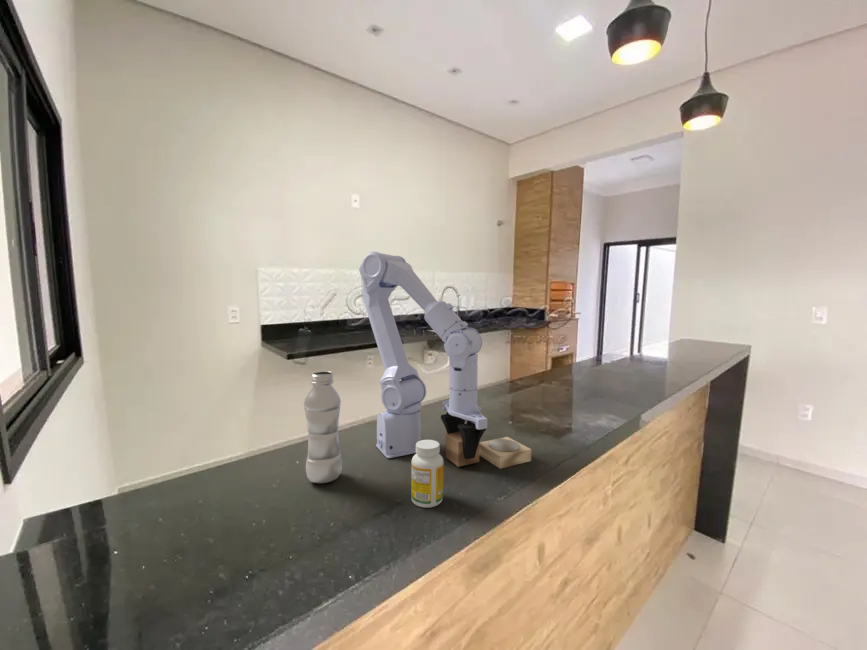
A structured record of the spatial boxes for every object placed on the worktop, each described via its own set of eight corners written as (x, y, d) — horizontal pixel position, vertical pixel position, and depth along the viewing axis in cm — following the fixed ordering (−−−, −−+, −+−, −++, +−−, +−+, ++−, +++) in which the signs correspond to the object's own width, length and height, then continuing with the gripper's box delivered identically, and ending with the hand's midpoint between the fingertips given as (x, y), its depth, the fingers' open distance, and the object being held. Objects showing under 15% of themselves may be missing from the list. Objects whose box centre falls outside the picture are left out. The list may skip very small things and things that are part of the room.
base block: (499, 468, 75) (500, 454, 75) (477, 453, 82) (477, 441, 82) (531, 460, 79) (531, 447, 78) (507, 447, 86) (507, 435, 85)
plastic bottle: (350, 476, 71) (348, 372, 70) (322, 492, 66) (320, 378, 64) (325, 468, 75) (323, 368, 73) (297, 482, 69) (295, 374, 68)
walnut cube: (458, 466, 75) (458, 442, 74) (445, 457, 79) (446, 434, 79) (479, 462, 77) (479, 438, 77) (466, 453, 81) (466, 430, 81)
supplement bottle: (417, 511, 60) (417, 452, 59) (406, 495, 65) (406, 440, 64) (448, 504, 62) (448, 447, 61) (435, 489, 67) (436, 436, 66)
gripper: (500, 393, 72) (499, 462, 73) (461, 379, 85) (460, 438, 86) (469, 398, 69) (468, 470, 70) (433, 382, 82) (433, 443, 83)
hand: (462, 452), depth 78 cm, fingers closed on walnut cube, 5 cm apart
